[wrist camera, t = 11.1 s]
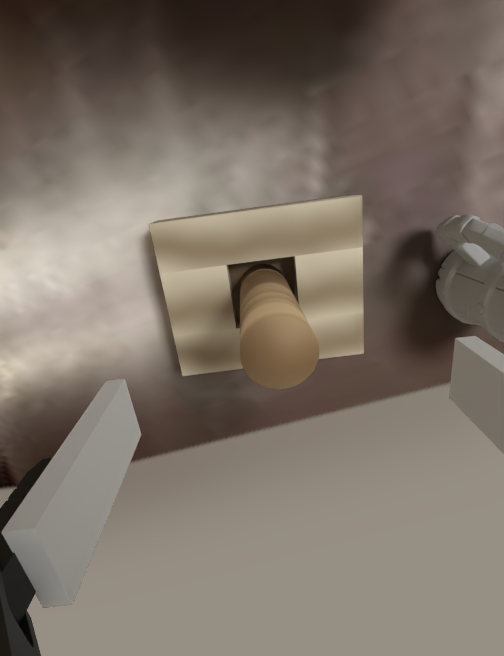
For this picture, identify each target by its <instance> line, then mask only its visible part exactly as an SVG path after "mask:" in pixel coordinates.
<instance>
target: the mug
mask: <svg viewBox="0 0 504 656" xmlns="http://www.w3.org/2000/svg"><path fill="white" fill-rule="evenodd" d="M435 232H436V234H437V235H438V236H439V238H440V239H441V240H442V241H444V242H445V243H446V244H448V245H449V246H450V247H451V248H453V249H454V251H453V252H452V253H451V254H450V255H449V256H448V257H447V258H446V259H445V261H444V262H443V263H442V265H441V266H442V268H440V270H439V272H438V275H439V279H437V280H436V292H437V295H438V298H439V300H440V301H441V303H443V305H444V308H445V309H446V310H447V312H448V313H449V314H451V315H452V316H453V317H455V318H456V319H458V320H460V321H461V322H462V323H466V324H473V325H479V326H481V327H483V328H484V329H485V330H486V331H487V332H488V333H490V334H491V335H493V336H494V337H496V338H497V340H499V341H501V342H504V228H502V227H500V226H498V225H497V224H495V223H491V224H489V223H486V222H484V221H481V220H480V218H479V217H477V216H474V215H462V216H457V215H456V216H451V217H449V218H447V219H446V220H444V221H443V222H442V223H440V224H439V226H438V227H437V230H436V231H435ZM444 268H445V269H444Z"/></svg>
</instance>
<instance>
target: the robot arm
mask: <svg viewBox="0 0 504 656" xmlns="http://www.w3.org/2000/svg"><path fill="white" fill-rule="evenodd" d="M449 398H450V399H451V400H452V401H453V402H454V403H455V404H456V405H457V406H458V407H459V408H460V409H461V410H462V412H463V413H464V414H465V415H466V416H467V417H468V418H469V419H470V420H471V421H472V422H473V423H474V424H475V425H476V426H477V427H478V428H479V429H480V430H481V431H482V432H483V433H484V434H485V435H486V436H487V437H488V438H489V439H490V440H491V441H492V442H493V443H494V444H495V445H496V446H497V447H498V448H499V450H500V451H501V452H502V453H503V454H504V354H502V353H501V352H499V351H498V350H496V349H494V348H493V347H491V346H490V345H488V344H487V343H485V342H484V341H482V340H481V339H479V338H478V337H476V336H469V337H461V338H455V345H454V355H453V365H452V375H451V385H450V395H449ZM140 437H141V432H140V428H139V425H138V422H137V418H136V415H135V411H134V408H133V405H132V401H131V398H130V395H129V391H128V388H127V385H126V381H125V379H120V380H112V381H106V382H105V383H104V385H103V386H102V388H101V389H100V390H99V392H98V393H97V395H96V396H95V398H94V399H93V401H92V402H91V403H90V405H89V406H88V408H87V409H86V411H85V412H84V413H83V415H82V416H81V418H80V419H79V421H78V422H77V424H76V425H75V426H74V428H73V429H72V431H71V432H70V434H69V435H68V437H67V438H66V439H65V441H64V442H63V444H62V445H61V447H60V448H59V449H58V451H57V452H56V454H55V455H54V457H53V458H49V459H43V460H41V461H40V462H39V463H38V464H37V465H35V466H34V467H33V468H32V469H31V470H30V471H28V472H27V474H26V475H25V476H24V478H23V479H22V480H21V482H20V483H19V484H18V486H17V489H15V490H14V491H13V492H12V494H11V495H10V496H9V499H8V501H6V502H5V503H4V504H3V506H2V507H1V508H0V656H41V654H40V650H39V647H38V643H37V639H36V635H35V632H34V628H33V624H32V620H31V617H30V616H29V614H28V612H27V608H28V607H29V605H30V603H31V601H32V598H33V597H34V595H35V594H36V596H37V598H38V599H39V601H40V603H41V605H42V607H43V608H48V607H56V606H66V605H73V603H74V600H75V598H76V595H77V593H78V590H79V588H80V585H81V583H82V580H83V578H84V575H85V573H86V570H87V568H88V566H89V563H90V561H91V558H92V556H93V553H94V551H95V548H96V546H97V543H98V541H99V538H100V536H101V533H102V531H103V528H104V526H105V523H106V521H107V518H108V516H109V513H110V511H111V509H112V506H113V504H114V501H115V499H116V496H117V494H118V491H119V489H120V486H121V484H122V481H123V479H124V476H125V474H126V471H127V469H128V466H129V464H130V462H131V459H132V457H133V454H134V452H135V449H136V447H137V444H138V442H139V439H140Z"/></svg>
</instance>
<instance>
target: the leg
mask: <svg viewBox="0 0 504 656" xmlns="http://www.w3.org/2000/svg"><path fill="white" fill-rule="evenodd" d="M239 297H240V360H241V364H242V367H243V369H244V371H245V373H246V374H247V375H248V377H249V378H250V379H251V380H253V381H254V382H255V383H257V384H259V385H261V386H263V387H266V388H271V389H285V388H290V387H293V386H295V385H298V384H299V383H301V382H303V381H304V380H305V379H307V378H308V377H309V376H310V374H311V373H312V372H313V370H314V369H315V367H316V365H317V362H318V359H319V345H318V341H317V339H316V336H315V334H314V333H313V331H312V329H311V327H310V325H309V323H308V321H307V319H306V317H305V316H304V314H303V312H302V310H301V308H300V306H299V304H298V302H297V300H296V299H295V297H294V295H293V293H292V291H291V289H290V287H289V284H288V282H287V280H286V279H285V278H284V276H283V274H282V273H281V271H280V270H279V269H278V268H276V267H275V266H273V265H270V264H257V265H254V266H252V267H250V268H249V269H248V270H246V272H245V273H244V274H243V276H242V278H241V281H240V290H239Z"/></svg>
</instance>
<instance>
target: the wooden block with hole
mask: <svg viewBox="0 0 504 656" xmlns="http://www.w3.org/2000/svg"><path fill="white" fill-rule="evenodd" d="M149 228H150V232H151V237H152V241H153V246H154V250H155V255H156V259H157V264H158V268H159V273H160V277H161V282H162V286H163V291H164V295H165V300H166V304H167V309H168V313H169V318H170V322H171V327H172V331H173V336H174V340H175V345H176V349H177V354H178V358H179V363H180V367H181V372H182V376H188V375H196V374H204V373H211V372H219V371H227V370H235V369H243V367H242V364H241V360H240V297H239V290H240V281H241V278H242V276H243V274H244V273H245V272H246V270H248V269H249V268H250V267H252V266H254V265H257V264H270V265H273V266H275V267H276V268H278V269H279V270H280V271H281V273H282V274H283V276H284V278H285V279H286V280H287V282H288V284H289V287H290V289H291V291H292V293H293V295H294V297H295V299H296V300H297V302H298V304H299V306H300V308H301V310H302V312H303V314H304V316H305V317H306V319H307V321H308V323H309V325H310V327H311V329H312V331H313V333H314V334H315V336H316V339H317V341H318V345H319V359H323V358H331V357H339V356H347V355H355V354H363V353H364V327H363V239H362V195H345V196H338V197H330V198H323V199H315V200H308V201H300V202H293V203H285V204H278V205H270V206H263V207H255V208H248V209H240V210H233V211H225V212H218V213H210V214H203V215H195V216H188V217H180V218H173V219H165V220H158V221H156V222H153V223H150V224H149Z"/></svg>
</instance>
